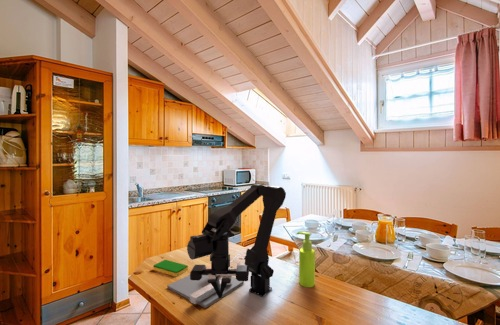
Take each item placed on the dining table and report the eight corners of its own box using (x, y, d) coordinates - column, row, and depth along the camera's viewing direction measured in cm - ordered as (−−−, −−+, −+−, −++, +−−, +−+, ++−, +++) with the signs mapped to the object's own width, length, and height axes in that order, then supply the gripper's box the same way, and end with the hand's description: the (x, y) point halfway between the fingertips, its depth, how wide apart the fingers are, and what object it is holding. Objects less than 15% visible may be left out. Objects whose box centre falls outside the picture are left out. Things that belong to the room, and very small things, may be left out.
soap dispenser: (299, 277, 106) (300, 229, 105) (316, 282, 102) (316, 231, 102) (294, 284, 101) (294, 233, 100) (311, 288, 97) (312, 236, 96)
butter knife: (244, 254, 130) (239, 252, 131) (214, 278, 106) (208, 276, 107) (244, 255, 130) (239, 253, 131) (214, 280, 106) (208, 278, 107)
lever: (225, 278, 102) (225, 270, 102) (234, 282, 99) (234, 274, 99) (187, 300, 88) (187, 291, 88) (197, 305, 85) (197, 296, 85)
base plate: (243, 283, 101) (243, 281, 101) (205, 308, 85) (205, 305, 85) (206, 268, 114) (206, 266, 114) (167, 288, 98) (167, 285, 98)
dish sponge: (176, 277, 107) (176, 272, 107) (152, 270, 114) (152, 265, 114) (188, 270, 113) (188, 265, 113) (165, 264, 120) (165, 259, 120)
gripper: (249, 243, 93) (249, 285, 94) (197, 242, 94) (198, 284, 94) (247, 255, 82) (248, 303, 82) (189, 254, 83) (189, 302, 83)
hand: (220, 297), depth 86 cm, fingers closed
